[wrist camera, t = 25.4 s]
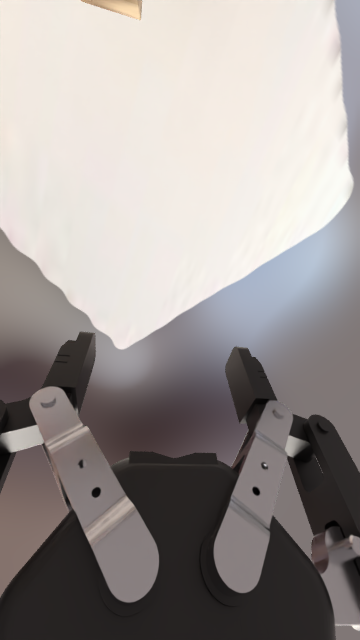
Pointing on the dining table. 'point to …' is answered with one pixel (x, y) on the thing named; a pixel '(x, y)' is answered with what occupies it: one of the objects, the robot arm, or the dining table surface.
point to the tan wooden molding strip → (120, 6)
